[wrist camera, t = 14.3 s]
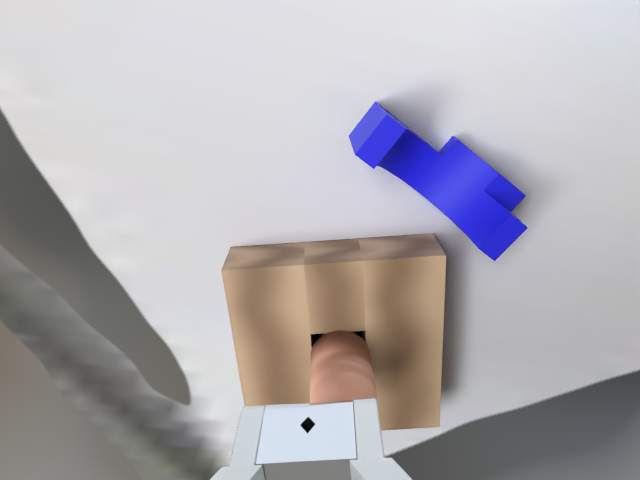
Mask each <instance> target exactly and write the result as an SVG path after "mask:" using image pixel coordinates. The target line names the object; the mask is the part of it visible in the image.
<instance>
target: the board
mask: <svg viewBox="0 0 640 480" xmlns="http://www.w3.org/2000/svg"><path fill="white" fill-rule="evenodd" d="M221 271H222V277H223V282H224V288H225V294H226V300H227V306H228V312H229V317H230V323H231V329H232V335H233V341H234V346H235V352H236V358H237V364H238V370H239V376H240V381H241V387H242V393H243V399H244V405H245V406H266V405H280V404H307V403H310V356H311V349H312V347H313V345H314V336H313V334H321V333H329V332H333V331H349V332H352V331H362V339H363V340H364V341H365V342H366V343H367V345H368V348H369V352H370V358H371V363H372V369H373V375H374V381H375V387H376V393H377V405H378V412H379V420H380V427H381V430H396V429H412V428H429V427H439V426H440V401H441V376H442V351H443V326H444V301H445V276H446V254H445V252H444V251H443V249H442V247H441V245H440V244H439V242H438V240H437V239H436V237H435V235H434V234H418V235H403V236H389V237H374V238H359V239H345V240H330V241H315V242H300V243H286V244H271V245H256V246H241V247H231V248H230V250H229V253H228V255H227V258H226V260H225V263H224V265H223V268H222V270H221Z"/></svg>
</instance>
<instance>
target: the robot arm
mask: <svg viewBox="0 0 640 480" xmlns="http://www.w3.org/2000/svg"><path fill="white" fill-rule="evenodd" d="M353 404H354V406H353ZM354 417H355V418H354ZM210 480H412V479H411V478H410V477H409V476H408V475H407V474H406V473H405V471H404V470H402V468H401V467H400V466H399V465H398V464H397V463H396V462H395V461H394V460H393V459H392V458H385V457H384V449H383V442H382V434H381V427H380V420H379V412H378V405H377V400H376V399H375V398H372V399H359V400H354V403H353V400H348V401H334V402H320V403H307V404H280V405H266V406H244V408H243V409H242V411H241V414H240V418H239V423H238V427H237V432H236V436H235V441H234V445H233V450H232V454H231V458H230V463H229V467H222V468H221V469H220V470H219V471H218V472H217V473H216V474H215V475H214V476H213V477H212V478H211V479H210Z"/></svg>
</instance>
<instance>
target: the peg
mask: <svg viewBox="0 0 640 480" xmlns="http://www.w3.org/2000/svg"><path fill="white" fill-rule="evenodd" d="M372 398H375V399H376V400H377V393H376V387H375V381H374V375H373V369H372V363H371V358H370V352H369V348H368V345H367V343H366V342H365V341H364V340H363V339H362V338H361V337H360V336H358V335H357V334H355V331H352V332H349V331H333V332H329V333H322V336H321V337H320V338H319V339H318V340H317V341H316V342H315V343H314V345H313V347H312V349H311V356H310V403H320V402H334V401H348V400H353V403H354V400H359V399H372ZM353 406H354V404H353ZM354 418H355V417H354Z"/></svg>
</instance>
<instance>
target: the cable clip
mask: <svg viewBox="0 0 640 480" xmlns="http://www.w3.org/2000/svg"><path fill="white" fill-rule="evenodd" d="M349 138H350V141H351V144H352V147H353V150H354V153H355V155H356V156H358V157H359V158H360V159H362V160H363V161H364V162H365V163H367V164H368V165H369V166H371V167H372V168H373V169H374V168H375V167H376V166H380V167H382V168H384V169H386V170H388V171H389V172H391V173H392V174H394V175H395V176H397V177H398V178H400V179H401V180H403V181H404V182H406V183H407V184H408V185H410V186H411V187H412V188H414V189H415V190H416V191H417V192H419V193H420V194H421V195H423V196H424V197H425V198H426V199H427V200H429V201H430V202H431V203H432V204H433V205H435V206H436V207H437V208H438V209H439V210H440V211H442V212H443V213H444V214H445V215H446V216H447V217H448V218H449V219H450V220H452V221H453V222H454V223H455V224H456V225H457V226H458V227H459V228H460V229H461V230H462V231H463V232H464V233H465V234H466V235H467V236H468V237H469V238H470V239H471V240H472V241H473V243H474V244H475V245H476V246H477V247H478V249H480V250H481V251H482V252H484V253H485V254H486V255H488V256H489V257H490V258H491V259H493V260H494V261H495V260H496V259H497V258H498V257H499V256H500V255H501V254H502V253H503V252H504V251H505V250H506V249H507V248H508V247H509V246H510V245H511V244H512V243H513V242H514V241H515V240H516V239H517V238H518V237H519V236H520V235H521V234H522V233H523V232H524V231H525V230H526V229H527V228H528V227H526V226H525V225H524V224H523V223H522V222H521V221H520V220H519V219H518V218H517V217H515V216H514V215H513V214H512V213H511V211H512V210H513V209H514V208H515V207H516V206H517V205H518V204H519V203H520V201H521V200H522V199H523V198H524V197H525V196H526V195H524V194H523V193H522V192H521V191H520V190H518V189H517V188H516V187H515V186H514V185H512V184H511V183H510V182H509V181H508V180H506V179H505V178H504V177H503V176H502V175H500V174H499V173H498V172H497V171H495V170H494V169H493V168H492V167H490V166H489V165H488V164H487V163H485V162H484V161H483V160H482V159H481V158H479V157H478V156H477V155H476V154H474V153H473V152H472V151H471V150H470V149H468V148H467V147H466V146H465V145H463V144H462V143H461V142H460V141H459V140H457V139H456V138H455V137H453V136H452V137H451V139H450V140H449V141H448V142H447V143H446V144H445V146H444V147H443V148H442V149H441V150H440V151H439V152H437V151H436V150H435V149H434V148H432V147H431V146H430V145H429V144H427V143H426V142H425V141H424V140H422V139H421V138H420V137H419V136H417V135H416V134H415V133H414V132H413V131H411V130H410V129H409V128H408V127H406V126H405V125H404V124H403V123H401V122H400V121H399V120H398V119H396V118H395V117H394V116H393V115H391V114H390V113H389V112H388V111H387V110H385V109H384V108H383V107H382V106H380V105H379V104H378V103H377V102H375V103H374V104H373V105H372V107H371V108H370V109H369V110H368V112H367V113H366V114H365V116H364V117H363V118H362V119H361V121H360V122H359V123H358V125H357V126H356V127H355V129H354V130H353V131H352V132H351V134H350V135H349Z"/></svg>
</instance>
